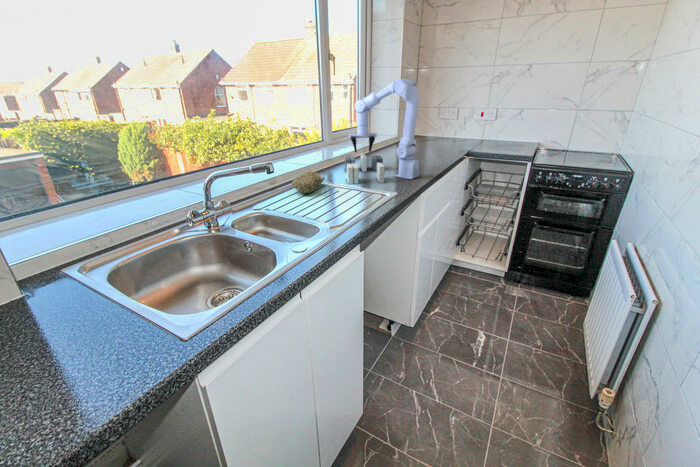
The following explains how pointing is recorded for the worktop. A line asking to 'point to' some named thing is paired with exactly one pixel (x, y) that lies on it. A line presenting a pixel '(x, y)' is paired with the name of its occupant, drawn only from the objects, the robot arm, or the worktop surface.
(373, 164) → the grey books
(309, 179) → the sponge
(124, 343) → the worktop surface
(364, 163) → the white book
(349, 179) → the white books
